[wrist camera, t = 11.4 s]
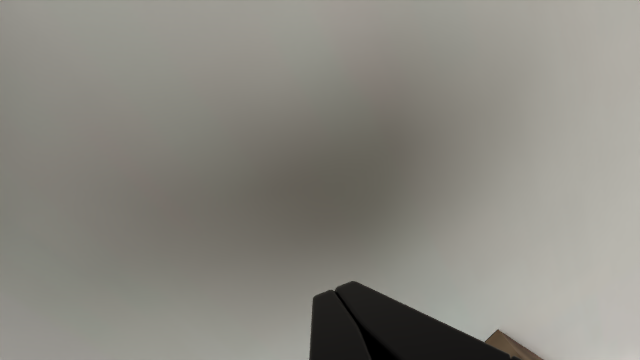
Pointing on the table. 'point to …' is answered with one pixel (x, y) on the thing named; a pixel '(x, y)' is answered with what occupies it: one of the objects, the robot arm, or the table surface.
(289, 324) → the table surface
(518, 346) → the corral
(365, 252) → the table surface
